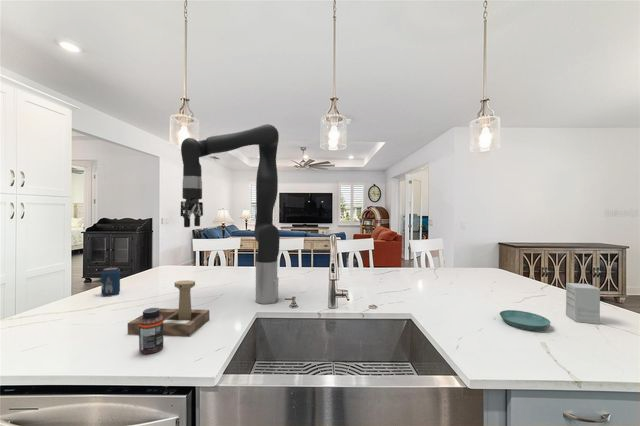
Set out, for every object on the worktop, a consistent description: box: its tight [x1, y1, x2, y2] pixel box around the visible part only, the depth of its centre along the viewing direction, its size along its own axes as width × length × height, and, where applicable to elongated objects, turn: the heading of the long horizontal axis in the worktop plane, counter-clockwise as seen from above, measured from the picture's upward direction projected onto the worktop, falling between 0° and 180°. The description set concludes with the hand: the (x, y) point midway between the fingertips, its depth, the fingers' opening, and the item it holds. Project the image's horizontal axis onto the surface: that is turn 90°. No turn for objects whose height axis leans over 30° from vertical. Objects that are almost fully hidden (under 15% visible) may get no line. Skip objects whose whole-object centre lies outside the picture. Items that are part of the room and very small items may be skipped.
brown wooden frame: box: [127, 307, 210, 337], centre depth 99 cm, size 20×14×4 cm
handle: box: [174, 280, 196, 321], centre depth 99 cm, size 5×6×15 cm
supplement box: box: [565, 282, 601, 325], centre depth 108 cm, size 7×7×13 cm
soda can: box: [100, 266, 121, 297], centre depth 135 cm, size 7×7×12 cm
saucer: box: [498, 309, 551, 331], centre depth 104 cm, size 15×15×3 cm
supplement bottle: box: [138, 307, 164, 355], centre depth 83 cm, size 6×6×11 cm
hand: (192, 226), depth 123 cm, fingers open, 8 cm apart
